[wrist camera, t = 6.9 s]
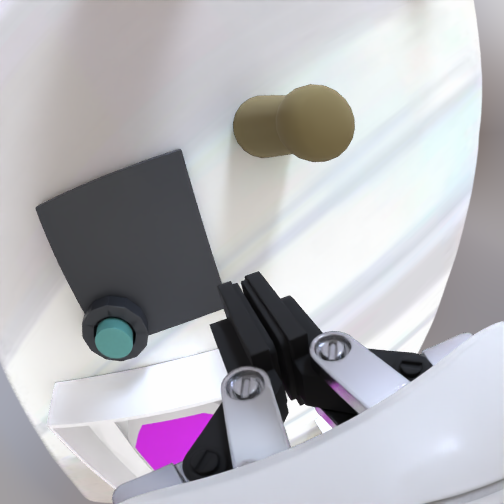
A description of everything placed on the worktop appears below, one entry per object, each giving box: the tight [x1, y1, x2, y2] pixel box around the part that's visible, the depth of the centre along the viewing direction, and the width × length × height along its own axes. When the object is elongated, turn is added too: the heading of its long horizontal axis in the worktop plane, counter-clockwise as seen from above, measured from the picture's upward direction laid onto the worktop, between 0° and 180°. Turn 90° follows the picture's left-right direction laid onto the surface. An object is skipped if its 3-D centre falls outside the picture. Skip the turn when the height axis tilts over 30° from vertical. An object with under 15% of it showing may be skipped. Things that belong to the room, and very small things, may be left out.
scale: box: [36, 149, 224, 361], centre depth 25 cm, size 17×15×3 cm
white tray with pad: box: [47, 349, 228, 489], centre depth 34 cm, size 22×35×7 cm, turn 7°
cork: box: [233, 84, 355, 162], centre depth 21 cm, size 6×6×11 cm
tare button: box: [95, 318, 133, 358], centre depth 25 cm, size 4×4×2 cm
